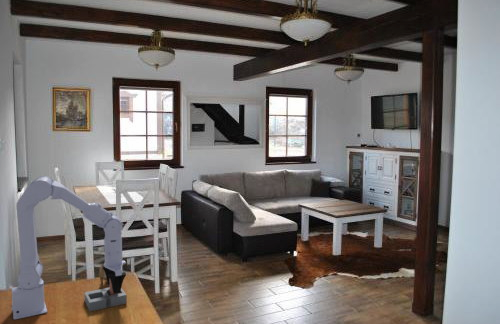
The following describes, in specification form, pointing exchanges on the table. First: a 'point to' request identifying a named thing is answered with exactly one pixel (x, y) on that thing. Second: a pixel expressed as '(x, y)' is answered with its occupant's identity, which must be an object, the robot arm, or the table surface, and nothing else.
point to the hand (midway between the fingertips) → (114, 288)
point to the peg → (111, 289)
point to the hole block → (103, 299)
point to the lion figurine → (102, 275)
